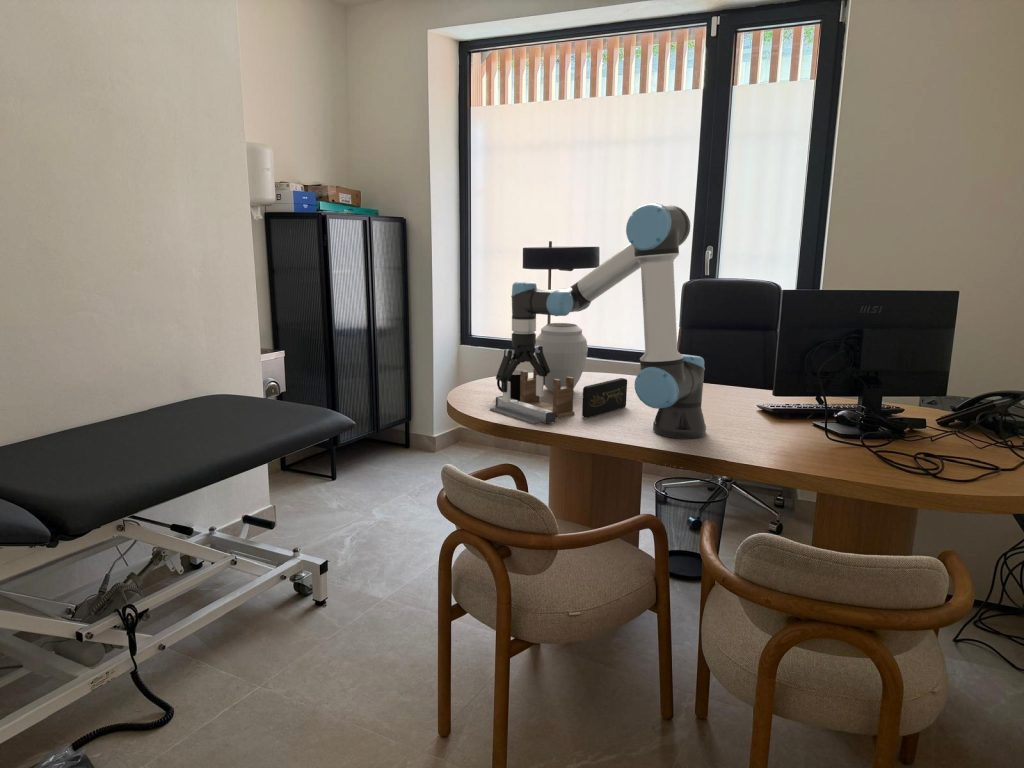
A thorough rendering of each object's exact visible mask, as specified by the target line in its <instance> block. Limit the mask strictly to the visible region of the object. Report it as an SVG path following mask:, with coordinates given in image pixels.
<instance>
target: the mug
mask: <svg viewBox="0 0 1024 768" xmlns="http://www.w3.org/2000/svg"><path fill="white" fill-rule="evenodd" d="M521 371H526V370H525V369H518V368H516V369H515V371H514V372H513V374H512V375H511V377H510V379H509V380H508V382H510V398H511V399H514V400H517V401H520V376H521ZM527 379H529V376H528V377H527ZM500 383H501V381H500V380H497V379H496V385H497V388H498V390H499V391H500V392H501V393H503V392H502V391H501V384H500Z"/></svg>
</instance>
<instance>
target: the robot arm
mask: <svg viewBox="0 0 1024 768" xmlns="http://www.w3.org/2000/svg"><path fill="white" fill-rule="evenodd" d="M625 228H626V229H625V234H626V237H627V240H628V242H629V244H627V245H626V246H625V247H623V248H622V249H621V250H619V251H618V252H616V253H615V254H613V255H612V256H611V257H610V258H608V259H606V260H605V261H604V262H602V263H601V264H600V265H598V266H597V267H596V268H594V269H593V270H592V271H590V272H589V273H588V274H586V275H585V276H584V277H582V278H581V279H579V280H578V281H576V282H575V283H574V284H572V285H571V286H569V287H566V288H565V287H564V288H557V289H540V288H538V287H537V283H536V282H534V281H515V282H514V283H512V287H511V288H512V289H511V332H512V333H511V346H512V349H509V348H508V349H507V348H505V349H504V350H503V358H502V360H501V363H500V366H499V368H498V371H497V373H496V376H495V380H496V381H497V380H500V383H501V384H500V387H501V391H502V392H501V391H500V392H501V393H502V396H503V402H507V403H510V382H508V380H509V379H510V377H511V375H512V374H513V372H514V371H515V369H517V368H518V366H519V365H520V364H521V363H528V362H529V364H530V365H531V366H532V368H533V369H535V370H536V372H537V373H538V375H537V376H536V395H537V396H540V398H542V397H544V387H545V376H547V373H550V369H549V367H548V364H547V362H546V359H545V357H544V354H543V347H542V346H538V345H536V346H535V344H536V338H537V337H536V336H537V334H536V331H537V315H545V316H554V317H566V316H568V315H569V314H571V313H574V312H576V313H577V312H582V311H584V310H586V309H588V308H589V306H590V305H591V303H592V302H593V301H595V299H597V298H599V297H600V296H602V295H603V294H604V293H606V292H608V291H609V290H611V288H614V286H616V285H618V284H620V282H622V281H623V280H625V279H626V278H628V277H629V276H631V275H632V274H633V273H635V272H636V271H638V270H639V269H640V275H641V276H640V277H641V295H642V311H643V312H642V315H643V332H644V333H643V334H644V335H643V336H644V353H643V354H642V356H641V357H640V358H639V364H640V365H639V366H640V369H639V370H640V371H639V372H638V374H637V375H636V377H635V380H634V391H635V393H636V394H635V395H636V397H638V399H639V400H640V401H641V402H642V403H643V404H644V405H645V406H647V407H649V408H652V409H655V410H656V409H658V410H657V412H656V415H655V418H654V420H653V421H652V422H653V423H652V431H653V432H654V433H655V434H657V435H660V436H663V437H668V438H673V439H685V440H687V439H697V438H698V439H699V438H702V437H704V436H706V434H707V433H706V431H707V425H706V423H705V418H704V414H703V410H702V409H703V408H702V403H703V402H702V401H703V390H704V377H705V370H706V368H705V359H704V358H703V357H702V356H698V355H691V354H682V353H680V352H679V351H678V337H677V336H678V334H677V333H678V332H677V313H676V312H677V311H676V294H675V293H676V289H675V269H674V264H675V263H674V262H675V259H676V258H677V257H679V255H680V250H679V249H680V246H681V245H683V244H684V243H685V242H686V240H687V239H688V237H689V235H690V232H691V220H690V217H689V215H688V214H687V212H686V211H684V210H683V209H682V208H681V207H679V206H678V205H677V206H676V205H674V204H673V205H671V204H663V203H647V204H643V205H640V206H639V207H638V208H636V209H635V210H634V211H633V212H631V214H630V216H629V217H628V219H627V222H626V227H625ZM535 354H536V356H537V359H538V361H539V363H538V361H537V359H536V357H535Z"/></svg>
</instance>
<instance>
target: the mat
mask: <svg viewBox="0 0 1024 768" xmlns="http://www.w3.org/2000/svg"><path fill="white" fill-rule="evenodd" d="M489 411H492V412H495V413H498V414H501V415H503V416H507V417H509V418H513V419H515V420H518V421H521V422H525V423H528V424H531V425H533V426H536V425H540V424H546V423H545V422H542V421H539V420H536V419H533V418H530V417H527V416H524V415H521V414H518V413H515V412H512V411H509V410H506V409H503V408H500V407H496V406H495V407H494V406H493V407H490V408H489ZM555 421H557V418H556V417H555Z"/></svg>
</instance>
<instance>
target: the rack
mask: <svg viewBox="0 0 1024 768" xmlns="http://www.w3.org/2000/svg"><path fill="white" fill-rule="evenodd" d="M532 373H533V375H532V377H529V372H528V370H525V371H521V376H520V401H521V402H524V403H527V404H530V405H534V406H537V407H540V408H543V409H546V410H550V411H554V412H556V414H555V418H556V419H562V418H563V419H564V418H568V417H572V416H575V411H574V388H575V387H574V378H572V377H566V386H565V387H561V380H559V379H553V392H552V404H550V403H547V402H544V401H541V400H540V399H541V397H540V396H537V395H536V376H537V375H538V373H537V372H536V370H535V369H534V368H533V371H532ZM527 377H528V379H527Z"/></svg>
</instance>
